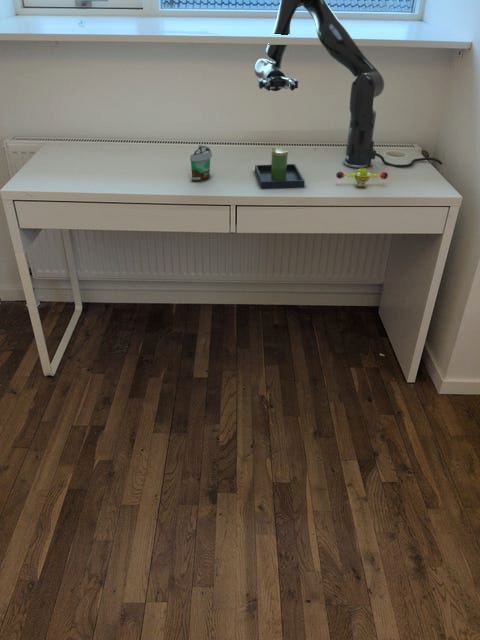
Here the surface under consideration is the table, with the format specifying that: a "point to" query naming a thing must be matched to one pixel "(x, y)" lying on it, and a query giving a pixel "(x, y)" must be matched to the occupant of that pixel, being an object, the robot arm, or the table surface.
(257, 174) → the dark grey shallow tray
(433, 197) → the table surface
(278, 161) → the green cup
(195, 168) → the food container
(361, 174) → the toy figure
